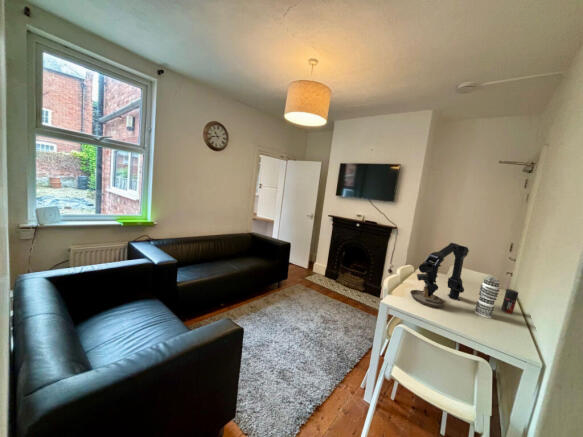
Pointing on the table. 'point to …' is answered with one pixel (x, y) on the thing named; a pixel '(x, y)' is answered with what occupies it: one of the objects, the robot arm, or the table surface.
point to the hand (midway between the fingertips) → (427, 293)
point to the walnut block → (426, 293)
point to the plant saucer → (426, 299)
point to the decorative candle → (487, 297)
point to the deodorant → (509, 301)
